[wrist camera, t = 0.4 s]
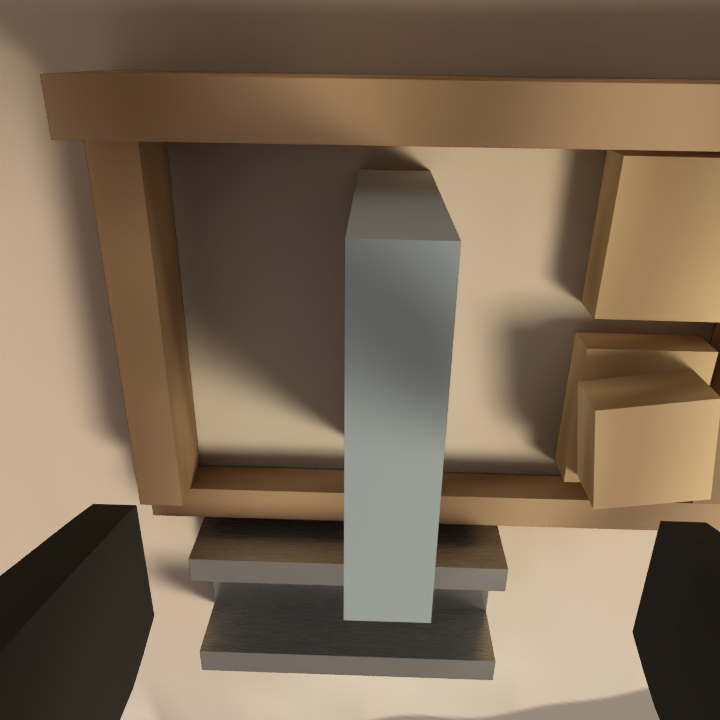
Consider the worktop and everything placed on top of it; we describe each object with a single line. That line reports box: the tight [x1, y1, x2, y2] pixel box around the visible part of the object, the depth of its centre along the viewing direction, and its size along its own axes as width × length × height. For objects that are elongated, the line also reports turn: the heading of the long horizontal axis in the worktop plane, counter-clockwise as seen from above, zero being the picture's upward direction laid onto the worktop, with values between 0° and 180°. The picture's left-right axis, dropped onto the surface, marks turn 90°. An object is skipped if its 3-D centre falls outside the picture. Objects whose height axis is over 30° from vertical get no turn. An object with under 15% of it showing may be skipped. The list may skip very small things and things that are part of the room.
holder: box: [189, 517, 508, 680], centre depth 21 cm, size 9×4×3 cm, turn 89°
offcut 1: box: [582, 150, 720, 322], centre depth 17 cm, size 3×4×2 cm
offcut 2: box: [555, 332, 718, 482], centre depth 19 cm, size 3×4×2 cm
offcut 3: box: [577, 370, 720, 509], centre depth 17 cm, size 3×3×2 cm
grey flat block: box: [344, 169, 461, 623], centre depth 15 cm, size 2×8×7 cm, turn 0°
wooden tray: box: [40, 70, 720, 532], centre depth 17 cm, size 17×12×4 cm
